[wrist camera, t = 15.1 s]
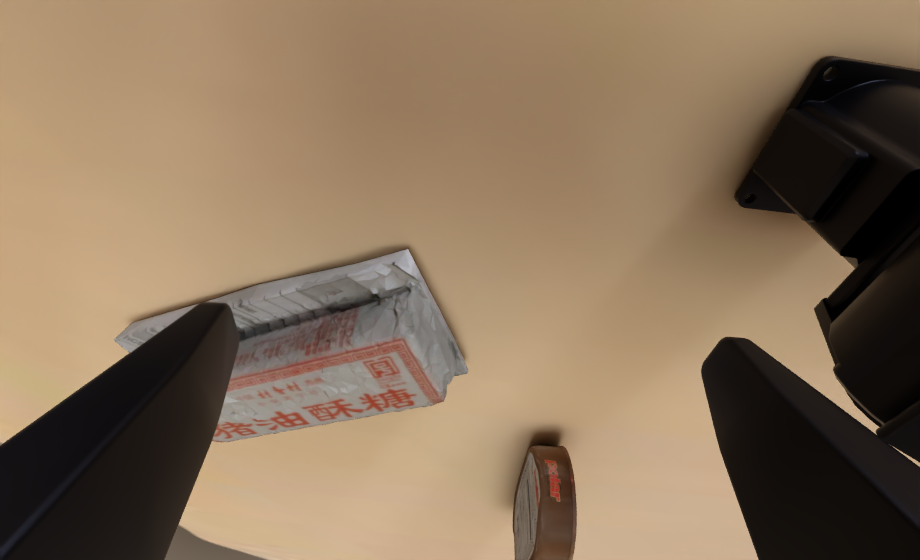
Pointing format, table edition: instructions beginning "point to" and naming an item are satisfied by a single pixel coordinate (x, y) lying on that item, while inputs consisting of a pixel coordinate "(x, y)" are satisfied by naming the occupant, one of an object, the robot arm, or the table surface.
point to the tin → (545, 506)
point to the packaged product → (329, 348)
